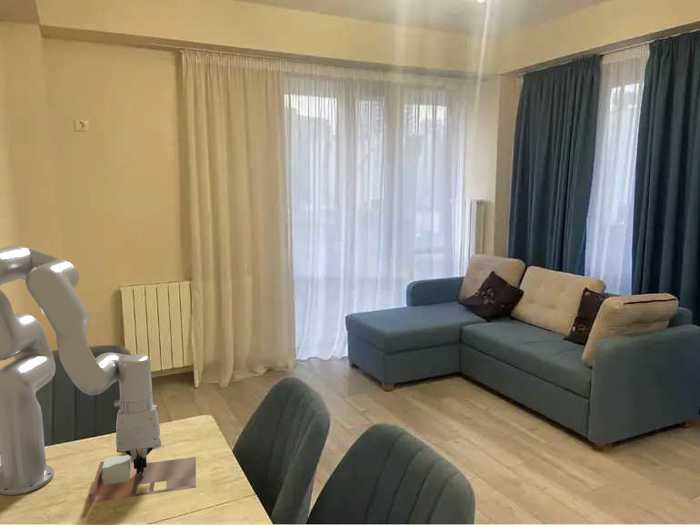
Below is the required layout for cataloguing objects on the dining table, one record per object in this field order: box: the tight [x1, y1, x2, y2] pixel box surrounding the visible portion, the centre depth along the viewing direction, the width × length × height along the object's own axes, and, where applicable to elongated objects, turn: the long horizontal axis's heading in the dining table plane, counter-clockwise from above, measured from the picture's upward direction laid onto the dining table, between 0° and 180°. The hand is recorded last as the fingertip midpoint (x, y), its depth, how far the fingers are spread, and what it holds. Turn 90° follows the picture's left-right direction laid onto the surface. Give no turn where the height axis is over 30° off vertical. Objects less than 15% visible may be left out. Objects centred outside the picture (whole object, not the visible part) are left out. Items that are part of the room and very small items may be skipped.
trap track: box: [89, 456, 197, 509], centre depth 132 cm, size 24×15×4 cm, turn 107°
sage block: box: [102, 454, 132, 485], centre depth 132 cm, size 6×5×4 cm
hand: (140, 470), depth 134 cm, fingers closed
